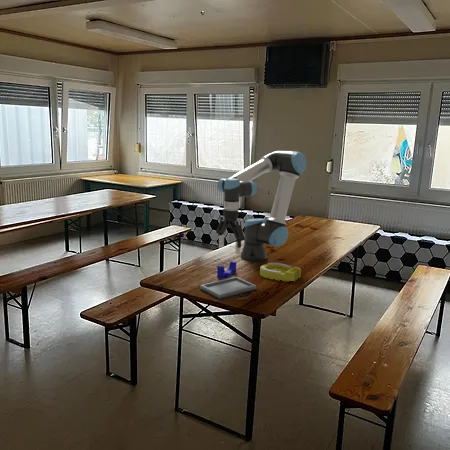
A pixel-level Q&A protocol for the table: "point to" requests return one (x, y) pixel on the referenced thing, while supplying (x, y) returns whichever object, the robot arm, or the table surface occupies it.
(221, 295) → the tray
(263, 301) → the table surface
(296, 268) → the yellow rounded low piece
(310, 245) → the table surface
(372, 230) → the table surface
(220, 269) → the blue long stepped piece
